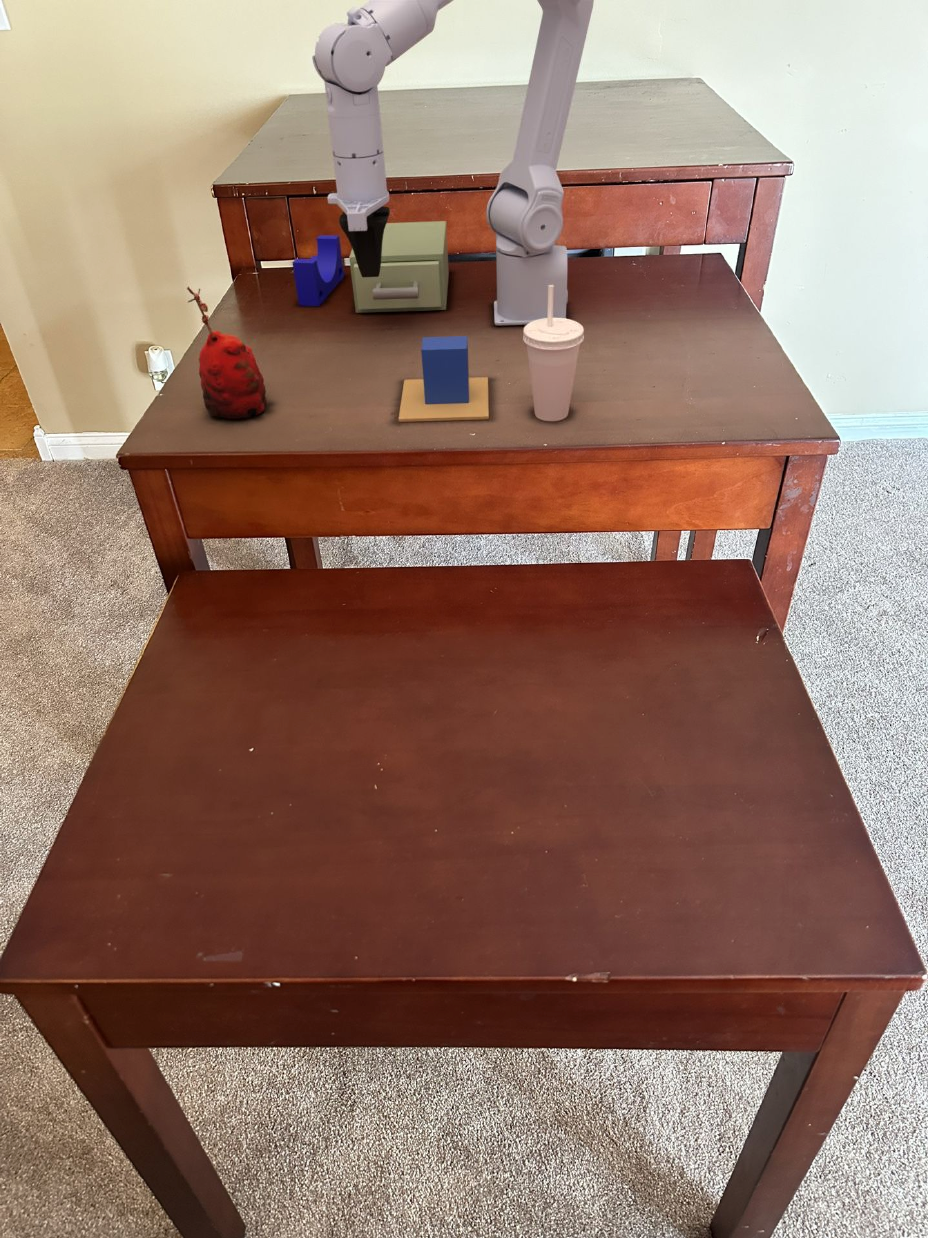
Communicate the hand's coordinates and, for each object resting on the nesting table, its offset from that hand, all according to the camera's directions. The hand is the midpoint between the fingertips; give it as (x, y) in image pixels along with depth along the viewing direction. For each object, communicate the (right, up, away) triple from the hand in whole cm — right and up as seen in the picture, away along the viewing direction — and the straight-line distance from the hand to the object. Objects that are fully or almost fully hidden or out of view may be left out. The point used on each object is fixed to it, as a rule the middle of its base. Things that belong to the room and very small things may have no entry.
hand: (370, 275), depth 109 cm
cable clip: (-10, +7, +23) cm, 26 cm away
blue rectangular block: (+9, -16, -6) cm, 20 cm away
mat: (+9, -17, -6) cm, 20 cm away
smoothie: (+21, -19, -9) cm, 30 cm away
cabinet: (+3, +6, +21) cm, 22 cm away
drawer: (+3, +4, +18) cm, 18 cm away
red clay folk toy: (-15, -18, -6) cm, 24 cm away
